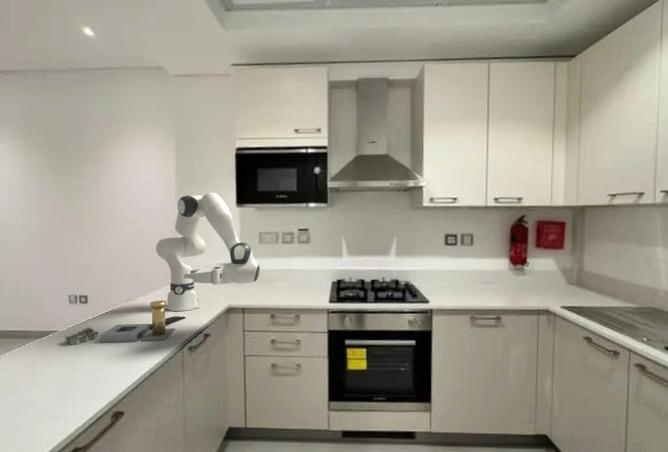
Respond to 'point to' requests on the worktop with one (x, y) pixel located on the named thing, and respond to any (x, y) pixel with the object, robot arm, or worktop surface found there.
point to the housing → (125, 333)
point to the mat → (156, 338)
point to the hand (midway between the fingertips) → (187, 274)
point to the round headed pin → (158, 317)
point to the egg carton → (82, 336)
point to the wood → (171, 320)
